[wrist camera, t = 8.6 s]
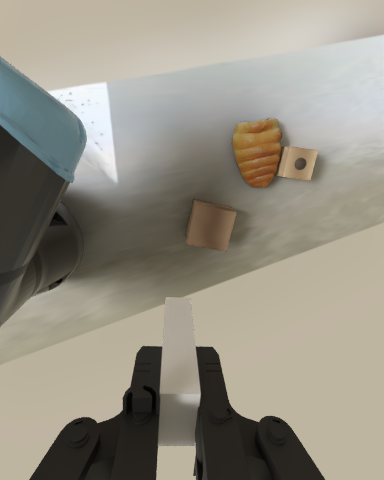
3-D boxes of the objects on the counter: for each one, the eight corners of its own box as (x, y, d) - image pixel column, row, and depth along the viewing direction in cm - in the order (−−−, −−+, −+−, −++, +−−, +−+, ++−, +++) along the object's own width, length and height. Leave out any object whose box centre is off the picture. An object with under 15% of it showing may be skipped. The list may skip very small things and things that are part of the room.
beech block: (272, 174, 39) (283, 176, 36) (278, 147, 38) (290, 146, 34) (297, 178, 40) (310, 180, 36) (304, 151, 39) (318, 150, 35)
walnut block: (185, 235, 42) (186, 244, 37) (193, 198, 40) (195, 204, 36) (221, 241, 42) (226, 251, 38) (230, 206, 41) (236, 212, 36)
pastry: (278, 182, 40) (289, 185, 36) (235, 190, 39) (242, 194, 36) (274, 115, 36) (286, 112, 33) (227, 124, 36) (234, 121, 33)
